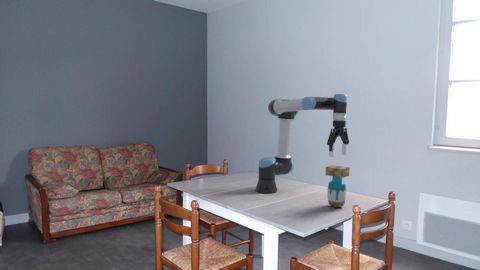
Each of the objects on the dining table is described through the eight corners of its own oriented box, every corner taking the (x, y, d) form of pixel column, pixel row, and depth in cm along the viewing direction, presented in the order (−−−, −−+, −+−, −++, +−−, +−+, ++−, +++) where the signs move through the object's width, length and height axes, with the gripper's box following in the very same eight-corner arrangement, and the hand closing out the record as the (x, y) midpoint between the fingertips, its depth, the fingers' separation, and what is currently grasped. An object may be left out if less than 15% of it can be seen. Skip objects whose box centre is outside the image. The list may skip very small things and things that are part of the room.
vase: (347, 206, 220) (348, 175, 218) (342, 210, 210) (343, 177, 209) (330, 203, 225) (331, 173, 223) (324, 207, 216) (325, 175, 214)
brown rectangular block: (325, 175, 216) (325, 167, 216) (332, 173, 223) (332, 165, 223) (343, 177, 209) (343, 169, 209) (349, 175, 216) (349, 167, 216)
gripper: (332, 121, 202) (331, 158, 204) (356, 120, 219) (354, 154, 221) (321, 120, 208) (320, 156, 210) (345, 119, 225) (343, 153, 226)
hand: (337, 155), depth 215 cm, fingers open, 13 cm apart
